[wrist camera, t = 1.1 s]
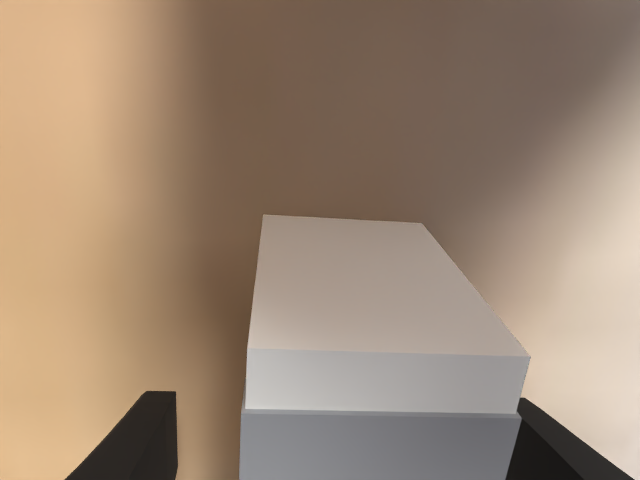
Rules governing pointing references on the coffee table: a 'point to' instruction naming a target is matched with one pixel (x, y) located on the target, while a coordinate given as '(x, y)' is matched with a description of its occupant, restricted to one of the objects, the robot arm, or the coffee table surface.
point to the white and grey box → (373, 359)
